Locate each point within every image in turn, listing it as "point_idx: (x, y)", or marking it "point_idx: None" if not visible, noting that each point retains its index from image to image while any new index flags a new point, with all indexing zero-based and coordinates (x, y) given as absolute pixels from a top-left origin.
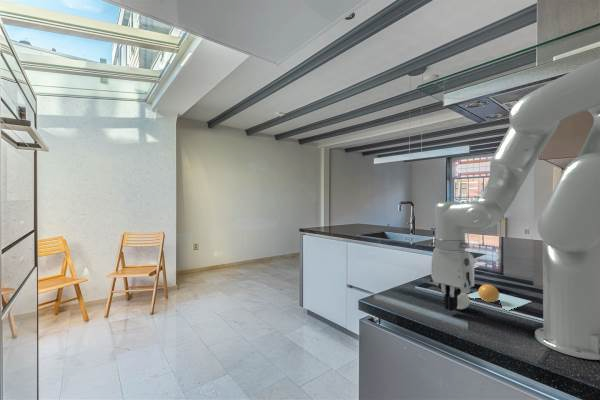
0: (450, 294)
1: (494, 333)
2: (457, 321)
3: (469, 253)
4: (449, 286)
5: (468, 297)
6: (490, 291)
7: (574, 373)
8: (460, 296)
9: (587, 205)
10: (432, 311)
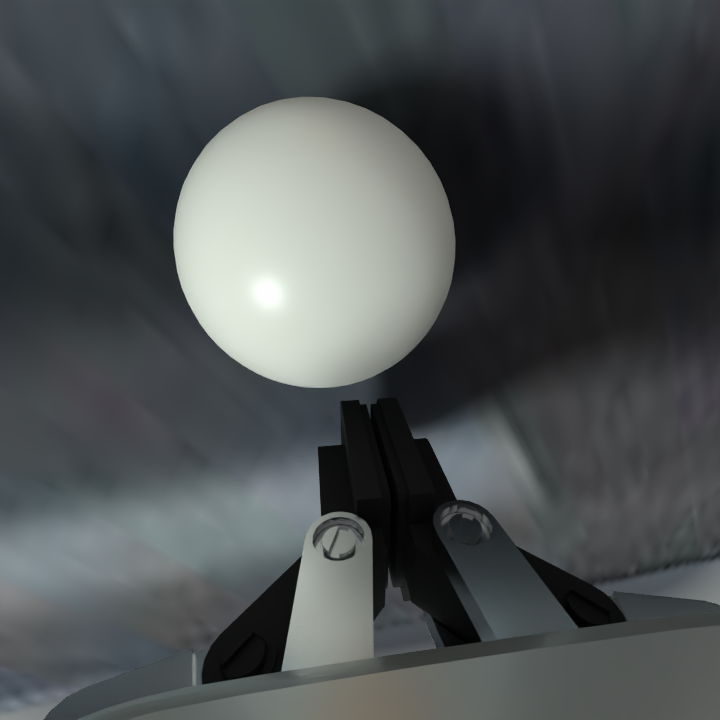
0: (430, 611)
1: (673, 425)
2: (458, 469)
3: None
4: (367, 644)
5: (450, 214)
6: None
7: None
8: (403, 352)
9: None
10: (248, 484)
